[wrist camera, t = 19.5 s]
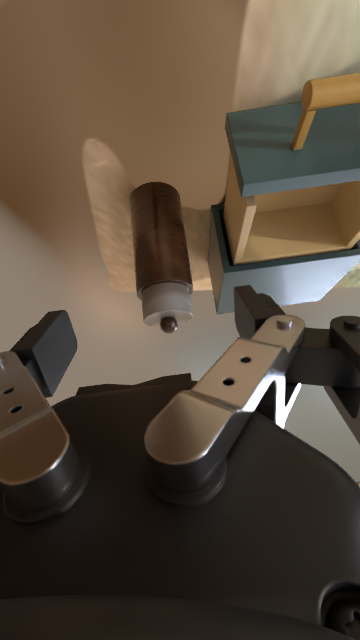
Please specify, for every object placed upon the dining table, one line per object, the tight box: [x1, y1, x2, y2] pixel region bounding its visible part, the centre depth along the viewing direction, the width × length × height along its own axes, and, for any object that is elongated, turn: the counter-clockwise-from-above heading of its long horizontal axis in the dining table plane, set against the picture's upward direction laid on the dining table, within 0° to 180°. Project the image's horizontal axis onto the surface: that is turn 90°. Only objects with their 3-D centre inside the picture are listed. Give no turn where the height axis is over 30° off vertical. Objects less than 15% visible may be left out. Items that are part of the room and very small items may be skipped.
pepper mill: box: [130, 182, 193, 334], centre depth 28 cm, size 5×5×14 cm
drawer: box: [223, 73, 360, 266], centre depth 23 cm, size 16×13×7 cm
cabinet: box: [208, 204, 360, 314], centre depth 36 cm, size 12×14×8 cm
